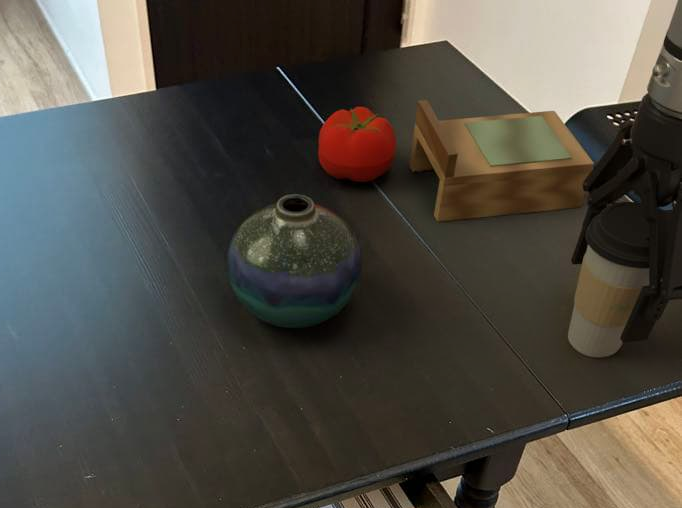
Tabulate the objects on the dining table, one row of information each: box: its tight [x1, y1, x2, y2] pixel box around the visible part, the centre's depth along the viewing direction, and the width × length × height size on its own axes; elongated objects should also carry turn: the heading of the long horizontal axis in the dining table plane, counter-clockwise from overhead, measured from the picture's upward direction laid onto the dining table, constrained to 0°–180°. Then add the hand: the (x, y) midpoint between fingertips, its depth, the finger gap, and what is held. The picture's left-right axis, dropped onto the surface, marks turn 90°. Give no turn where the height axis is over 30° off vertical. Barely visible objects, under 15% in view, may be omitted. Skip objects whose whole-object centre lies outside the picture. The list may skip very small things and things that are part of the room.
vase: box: [226, 193, 363, 329], centre depth 93 cm, size 15×15×13 cm
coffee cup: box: [567, 201, 664, 359], centre depth 89 cm, size 9×9×15 cm
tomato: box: [318, 106, 397, 183], centre depth 113 cm, size 11×11×8 cm
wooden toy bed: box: [408, 99, 595, 223], centre depth 110 cm, size 20×14×9 cm
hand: (607, 299), depth 90 cm, fingers open, 13 cm apart
